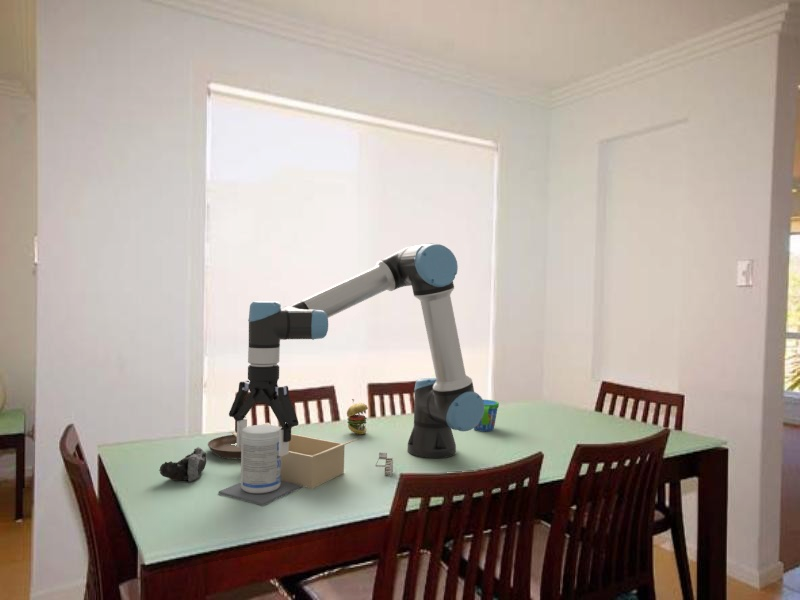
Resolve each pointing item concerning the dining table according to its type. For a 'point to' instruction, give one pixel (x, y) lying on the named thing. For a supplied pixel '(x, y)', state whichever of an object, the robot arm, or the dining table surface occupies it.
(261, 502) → the mat
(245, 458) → the supplement tub
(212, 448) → the plant saucer
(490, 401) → the snack cup
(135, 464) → the dining table surface
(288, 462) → the carton
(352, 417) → the hamburger
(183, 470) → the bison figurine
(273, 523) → the dining table surface
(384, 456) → the staircase
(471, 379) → the robot arm
